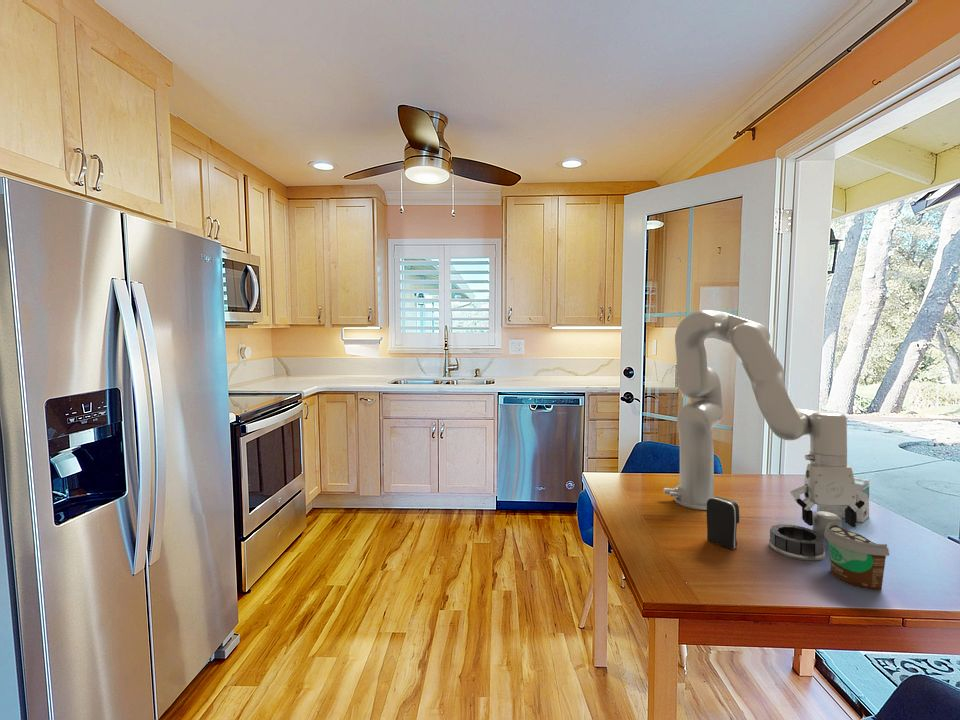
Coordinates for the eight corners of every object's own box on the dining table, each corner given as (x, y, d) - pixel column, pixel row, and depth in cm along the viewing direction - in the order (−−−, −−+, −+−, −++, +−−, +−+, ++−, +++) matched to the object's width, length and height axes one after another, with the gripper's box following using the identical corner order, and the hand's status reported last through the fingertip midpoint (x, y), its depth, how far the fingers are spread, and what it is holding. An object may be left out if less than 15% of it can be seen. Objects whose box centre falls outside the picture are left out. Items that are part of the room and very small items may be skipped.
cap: (820, 537, 114) (820, 518, 114) (807, 527, 120) (808, 509, 120) (846, 539, 113) (847, 519, 113) (833, 529, 119) (833, 510, 119)
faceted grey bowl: (781, 559, 104) (781, 542, 104) (761, 538, 115) (761, 522, 114) (835, 562, 102) (835, 545, 101) (809, 540, 112) (810, 525, 112)
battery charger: (741, 546, 110) (741, 501, 110) (733, 551, 108) (733, 504, 108) (713, 536, 116) (713, 493, 116) (705, 540, 114) (705, 496, 114)
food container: (809, 565, 101) (809, 522, 100) (834, 563, 101) (835, 520, 101) (860, 596, 89) (861, 547, 88) (888, 594, 89) (889, 545, 89)
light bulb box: (869, 517, 126) (870, 479, 125) (863, 523, 122) (864, 484, 121) (823, 506, 134) (824, 471, 134) (816, 512, 130) (816, 475, 130)
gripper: (798, 462, 113) (799, 529, 114) (876, 464, 110) (877, 532, 111) (784, 455, 121) (785, 517, 121) (857, 456, 117) (857, 520, 118)
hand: (829, 524), depth 116 cm, fingers open, 9 cm apart
